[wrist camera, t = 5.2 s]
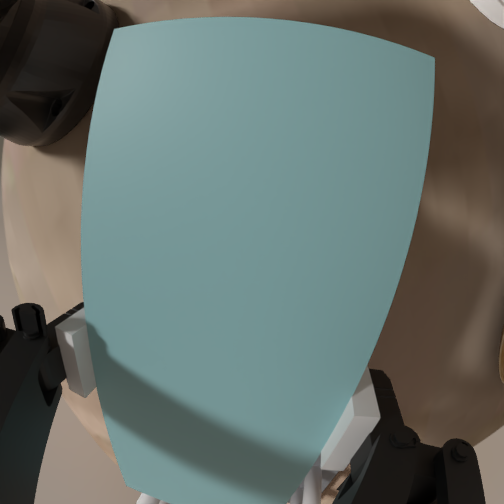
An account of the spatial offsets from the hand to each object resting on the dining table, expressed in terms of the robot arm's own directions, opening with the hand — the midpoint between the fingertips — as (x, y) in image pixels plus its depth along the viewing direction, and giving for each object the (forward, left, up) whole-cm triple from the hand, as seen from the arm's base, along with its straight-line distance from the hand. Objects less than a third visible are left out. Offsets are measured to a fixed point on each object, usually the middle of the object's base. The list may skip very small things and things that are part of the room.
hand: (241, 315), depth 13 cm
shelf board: (0, 0, +3) cm, 3 cm away
